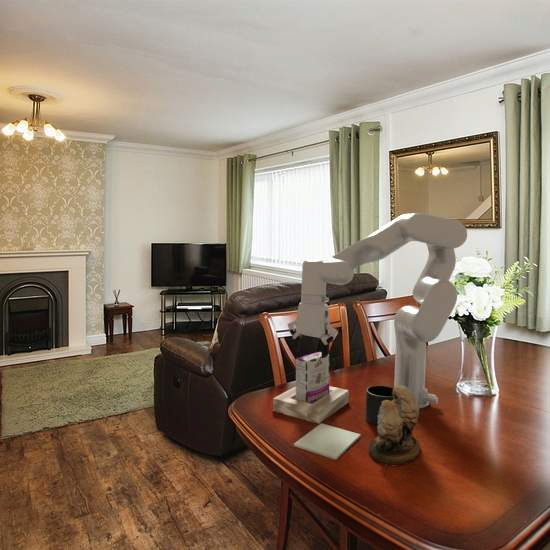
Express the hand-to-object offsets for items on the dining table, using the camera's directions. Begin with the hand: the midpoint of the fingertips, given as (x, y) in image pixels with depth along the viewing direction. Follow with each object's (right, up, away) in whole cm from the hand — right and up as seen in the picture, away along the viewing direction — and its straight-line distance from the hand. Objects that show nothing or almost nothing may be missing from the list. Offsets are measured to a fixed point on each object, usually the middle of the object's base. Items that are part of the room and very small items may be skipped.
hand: (311, 353), depth 137 cm
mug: (+21, -18, -7) cm, 29 cm away
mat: (+3, -19, -22) cm, 29 cm away
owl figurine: (+19, -20, -25) cm, 38 cm away
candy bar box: (+1, -17, +2) cm, 17 cm away
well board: (0, -17, +2) cm, 17 cm away
